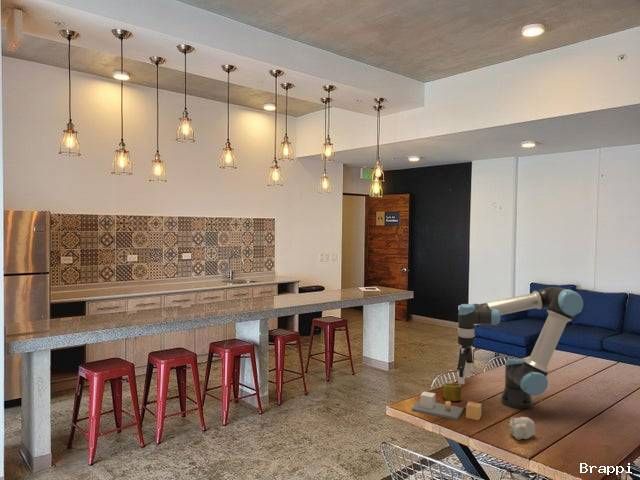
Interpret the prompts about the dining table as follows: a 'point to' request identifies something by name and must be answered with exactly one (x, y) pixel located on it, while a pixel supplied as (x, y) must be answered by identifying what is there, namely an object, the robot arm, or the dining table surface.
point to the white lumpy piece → (522, 427)
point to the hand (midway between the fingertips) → (464, 379)
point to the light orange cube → (473, 410)
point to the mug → (452, 391)
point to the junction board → (436, 407)
